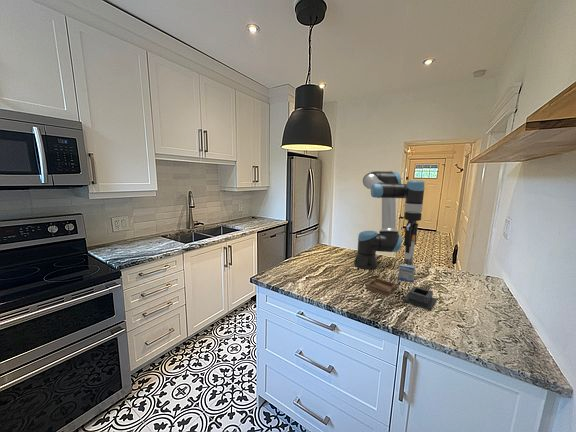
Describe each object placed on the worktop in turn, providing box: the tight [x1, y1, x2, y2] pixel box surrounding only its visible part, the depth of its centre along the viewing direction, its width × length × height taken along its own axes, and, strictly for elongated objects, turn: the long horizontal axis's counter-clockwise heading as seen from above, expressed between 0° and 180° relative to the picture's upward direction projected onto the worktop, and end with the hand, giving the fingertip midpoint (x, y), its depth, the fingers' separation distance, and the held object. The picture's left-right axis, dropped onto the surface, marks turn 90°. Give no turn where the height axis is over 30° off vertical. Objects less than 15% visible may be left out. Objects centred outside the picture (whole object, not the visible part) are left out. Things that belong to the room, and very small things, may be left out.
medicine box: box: [397, 263, 416, 283], centre depth 143 cm, size 8×4×9 cm, turn 62°
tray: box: [365, 277, 398, 297], centre depth 131 cm, size 12×12×3 cm
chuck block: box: [402, 285, 438, 312], centre depth 118 cm, size 12×12×5 cm
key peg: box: [403, 234, 416, 266], centre depth 124 cm, size 4×4×15 cm
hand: (408, 257), depth 124 cm, fingers closed on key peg, 4 cm apart
